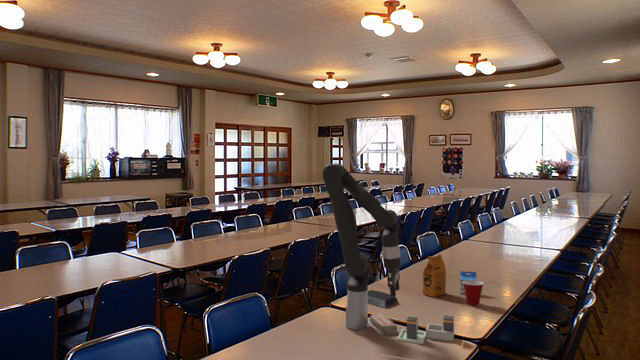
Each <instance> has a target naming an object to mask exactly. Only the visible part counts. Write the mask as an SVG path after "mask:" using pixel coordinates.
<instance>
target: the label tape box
mask: <svg viewBox="0 0 640 360" xmlns="http://www.w3.org/2000/svg"><path fill="white" fill-rule="evenodd" d="M459 272H460V275H459V294H460V293H461V294H460V295H465V289H464V285H463V283H462V281H466V280H472V281H478V278H477V272H476V271H464V270H460V271H459Z"/></svg>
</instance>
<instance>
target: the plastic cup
mask: <svg viewBox="0 0 640 360" xmlns="http://www.w3.org/2000/svg"><path fill="white" fill-rule="evenodd" d="M462 283H463V285H464V289H465V294H464V295H465V298H466V304H467V305H468V306H470V305H472V306H471V307H478V306H479V304H480V300H481V296H482V291H483V286H484V285H485V283H484V282H483V281H479V280H477V281H472V280H466V281H462ZM477 305H478V306H477Z"/></svg>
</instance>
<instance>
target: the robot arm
mask: <svg viewBox="0 0 640 360" xmlns="http://www.w3.org/2000/svg"><path fill="white" fill-rule="evenodd" d="M322 179H323V182H324V185H325V187H326V191H327V194H328V196H329V200H330V205H331V209H332V212H333V217H334V221H335V226H336V229H337V232H338V236H339V240H340V244H341V248H342V249H341V250H342V253H343V255H342V256H343V262H344V267H345V270H346V272H347V273H348V276H349V278H348V281H347V285H346V286H347V287H346V288H347V289H346V293H347V294H346V295H347V297H346V298H347V299H346V300H347V301H346V306H345V328H346V329H350V330H354V331H363V330H366V329H367V328H368V326H369V324H368V320H369V319H368V316H369V315H368V314H369V312H368V308H369V307H368V305H369V304H368V291H369V290H368V289H369V288H368V287H369V281H370V262H369V258H368V257H367V255H365V254H364V253H362V252H360V250H359V244H358V224H357V220H356V219H357V218H356V215H355V211H354V208H353V207H352V205H351V203H350V201H349V200H348V197H346V194H345V191H344V189H345V190H346V191H347V192H349V194H350V195H351V196H352V198H353V199H354V200H355V202H357V204H358V205H359V206H360V207H361V208H363V209H364V210H365V211H366V212H368V213H369V214H370V216H371V217H372V218H373V220H374V221H375V222H376V223H377V224H378V225H380V226H381V227H382V228H383V232H382V235H381V245H382V260H383V267H384V268H385V269H388V272H387V273H386V276H387V287H388V288H389V292H390V293H389V294H390V295H391V296H395V297H396V295H397V292H396V291H400V279H401V276H400V275H401V274H400V268H401V267H402V260H401V250H400V244H399V235H398V232H399V218H398V213H396V211H395V210H392V209H386V208H385V207H383V205H382V202H381V201H380V200H379V199H377V197H375V196H374V195H373V194H371V192H369V191H368V190H367V189H365V187H363V185H361V184H360V183H359V182H358V181H357V180H356V179H355V178H354V176H353V175H352V174H351V173H350V172H349V171H348V170H347V168H345V167H344V166H343V165H342V164H341V163H330V164H327V165H325V166H324V167H323V170H322Z"/></svg>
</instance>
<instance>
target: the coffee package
mask: <svg viewBox="0 0 640 360" xmlns="http://www.w3.org/2000/svg"><path fill="white" fill-rule="evenodd" d="M426 259H427V260H428V261H427V264H426V266H425V268H424V270H423V272H422V290H421V291H422V294H423V295H425V296H427V295H428V297H430V296H431V297H430V298H437V296H439V297H442V296H443V295H445V294H446V291H447V289H446V287H447V284H446V283H447V275H446V274H447V273H446V272H447V271H446V264H445V262H444V259H443V257H442V255H441V253H438V254H437V255H436V256H432V255H431V256H429V255H428V256H427V258H426ZM441 295H442V296H441Z"/></svg>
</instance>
